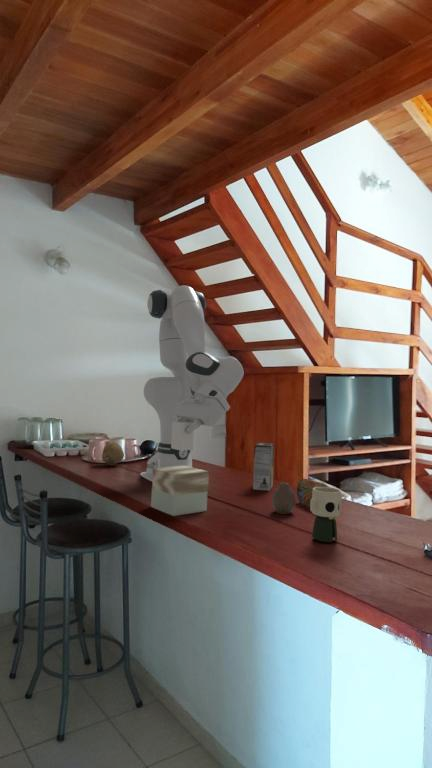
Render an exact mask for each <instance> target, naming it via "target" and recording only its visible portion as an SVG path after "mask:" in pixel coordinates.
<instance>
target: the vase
mask: <svg viewBox="0 0 432 768" xmlns="http://www.w3.org/2000/svg"><path fill="white" fill-rule="evenodd" d="M273 492H274V493H273V495H272V498H271V499H272V502H271V503H272V504H271V505H272V507H273V509H274V511H275V512H276V513H277V514H281V515H288V514H289V515H290V514H291V513H292V512H293V511H294V509H295V507H296V506H295V505H296V495H295V493H294V491H293V490H292V488H291V487H290V484H289V483H287V482H280V484H279V486H278V487H277V488H276V489H275V491H273Z"/></svg>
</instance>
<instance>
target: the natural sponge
mask: <svg viewBox="0 0 432 768" xmlns="http://www.w3.org/2000/svg"><path fill="white" fill-rule="evenodd" d="M124 457H125V452H124V451H123V448H122V446H121V445H120V443H117V442H115V441H113V442H109V443H106V444H105V446H104V448H103V450H102V453H101V459H102V461H103V462H104V463H105V464H107V465H109V466H111V467H113V466H115V465H116V464H117V463H119V462H121V461H122V460H123V459H124Z"/></svg>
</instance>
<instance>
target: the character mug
mask: <svg viewBox="0 0 432 768" xmlns="http://www.w3.org/2000/svg"><path fill="white" fill-rule="evenodd" d="M342 499H343V498H342V490H341V489H339V488H336V487H335V488H334V487H329V486H327V487H315V488H313V490H312V499H311V501H310V507H309V509H310V512H311V513H312V514H313V515H315V518H314V522H313V527H312V533H311V537H312V538H313V539H315V540H317V541H319V542H320V541H321V542H323V543H324V542H325V543H333V539H334V542H336V541H338V529H337V528H338V527H337V520H336V518H337V517H339V516H340V514H341V510H342V509H341V507H342Z"/></svg>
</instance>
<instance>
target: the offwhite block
mask: <svg viewBox="0 0 432 768" xmlns="http://www.w3.org/2000/svg"><path fill="white" fill-rule="evenodd" d="M191 424H192V423H190V422H172V440H171V448H172V449H176V450H180V451H181V450H190V451H193V450H194V433H195V432H194V431H195V430H194V431H193V432H192V433H191V434H187V433H186V432H185V428H186V427H187V426H190V425H191Z"/></svg>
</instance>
